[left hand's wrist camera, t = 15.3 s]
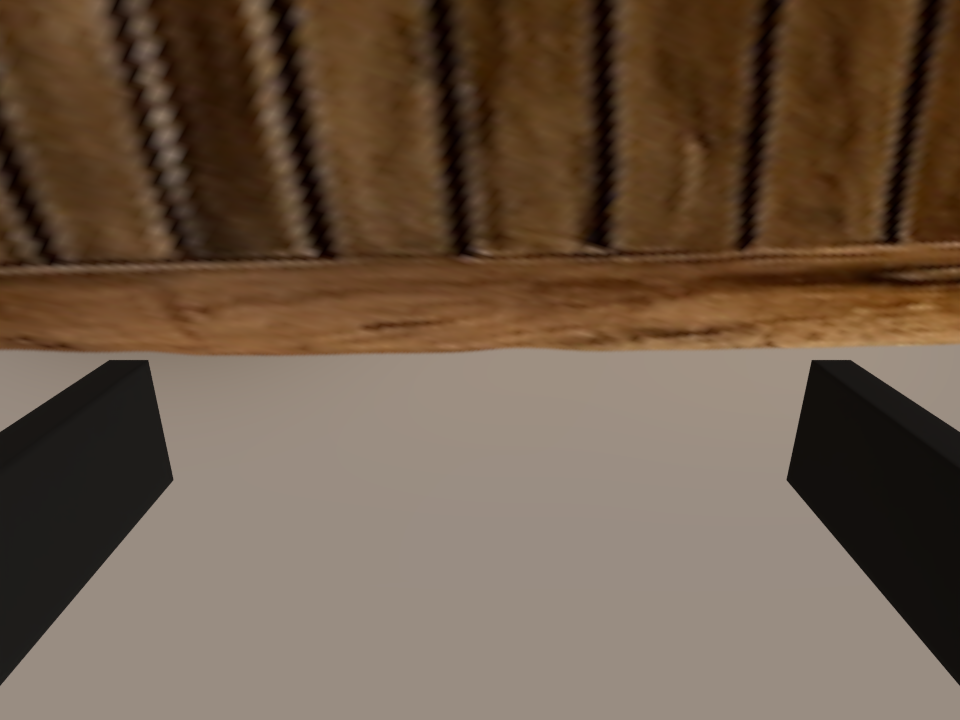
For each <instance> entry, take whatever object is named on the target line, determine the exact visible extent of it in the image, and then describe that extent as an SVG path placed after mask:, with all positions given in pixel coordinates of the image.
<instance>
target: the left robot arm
mask: <svg viewBox="0 0 960 720" xmlns="http://www.w3.org/2000/svg"><path fill="white" fill-rule="evenodd" d="M172 481H173V476H172V471H171V466H170V461H169V457H168V452H167V447H166V442H165V438H164V433H163V428H162V424H161V419H160V414H159V409H158V404H157V400H156V395H155V390H154V386H153V381H152V376H151V371H150V367H149V362H148V360H109V361H107V362H106V363H104V364H103V365H101V366H100V367H98V368H97V369H95V370H94V371H92V372H91V373H89V374H88V375H86V376H85V377H83V378H82V379H80V380H79V381H77V382H76V383H74V384H72V385H71V386H70V387H68V388H66V389H65V390H63V391H62V392H60V393H59V394H57V395H56V396H54V397H53V398H51V399H50V400H48V401H47V402H45V403H44V404H42V405H41V406H39V407H38V408H36V409H35V410H33V411H32V412H30V413H29V414H27V415H25V416H24V417H22V418H21V419H19V420H18V421H16V422H15V423H13V424H12V425H10V426H9V427H7V428H6V429H4V430H3V431H1V432H0V685H1V684H2V683H3V682H4V681H5V679H6V678H7V677H8V676H9V675H10V673H11V672H12V671H13V670H14V669H15V667H16V666H17V665H18V664H19V663H20V662H21V660H22V659H23V658H24V657H25V656H26V654H27V653H28V652H29V651H30V650H31V649H32V647H33V646H34V645H35V644H36V643H37V641H38V640H39V639H40V638H41V637H42V635H43V634H44V633H45V632H46V631H47V629H48V628H49V627H50V626H51V625H52V624H53V622H54V621H55V620H56V619H57V618H58V616H59V615H60V614H61V613H62V612H63V610H64V609H65V608H66V607H67V606H68V605H69V603H70V602H71V601H72V600H73V599H74V597H75V596H76V595H77V594H78V593H79V591H80V590H81V589H82V588H83V587H84V586H85V584H86V583H87V582H88V581H89V580H90V578H91V577H92V576H93V575H94V574H95V573H96V571H97V570H98V569H99V568H100V567H101V565H102V564H103V563H104V562H105V561H106V559H107V558H108V557H109V556H110V555H111V554H112V552H113V551H114V550H115V549H116V548H117V546H118V545H119V544H120V543H121V542H122V540H123V539H124V538H125V537H126V536H127V534H128V533H129V532H130V531H131V530H132V529H133V527H134V526H135V525H136V524H137V523H138V521H139V520H140V519H141V518H142V517H143V515H144V514H145V513H146V512H147V511H148V509H149V508H150V507H151V506H152V505H153V504H154V502H155V501H156V500H157V499H158V498H159V497H160V495H161V494H162V493H163V492H164V491H165V489H166V488H167V487H168V486H169V485H170V483H171V482H172ZM787 481H788V482H789V483H790V485H791V486H792V487H793V488H794V489H795V490H796V492H797V493H798V494H799V495H800V497H801V498H802V499H803V500H804V501H805V502H806V504H807V505H808V506H809V507H810V508H811V510H812V511H813V512H814V513H815V514H816V516H817V517H818V518H819V519H820V520H821V521H822V523H823V524H824V525H825V526H826V527H827V529H828V530H829V531H830V532H831V533H832V535H833V536H834V537H835V538H836V539H837V540H838V542H839V543H840V544H841V545H842V546H843V548H844V549H845V550H846V551H847V552H848V554H849V555H850V556H851V557H852V558H853V559H854V561H855V562H856V563H857V564H858V565H859V567H860V568H861V569H862V570H863V571H864V573H865V574H866V575H867V576H868V577H869V578H870V580H871V581H872V582H873V583H874V584H875V586H876V587H877V588H878V589H879V590H880V591H881V593H882V594H883V595H884V596H885V597H886V599H887V600H888V601H889V602H890V603H891V605H892V606H893V607H894V608H895V609H896V611H897V612H898V613H899V614H900V615H901V616H902V618H903V619H904V620H905V621H906V622H907V624H908V625H909V626H910V627H911V628H912V630H913V631H914V632H915V633H916V634H917V635H918V637H919V638H920V639H921V640H922V641H923V643H924V644H925V645H926V646H927V647H928V649H929V650H930V651H931V652H932V653H933V654H934V656H935V657H936V658H937V659H938V660H939V662H940V663H941V664H942V665H943V666H944V667H945V669H946V670H947V671H948V672H949V673H950V675H951V676H952V677H953V678H954V679H955V681H956V682H957V683H958V684H959V685H960V432H959V431H957V430H956V429H954V428H953V427H951V426H950V425H948V424H947V423H945V422H944V421H942V420H941V419H939V418H938V417H936V416H935V415H933V414H931V413H930V412H928V411H927V410H925V409H924V408H922V407H921V406H919V405H918V404H916V403H915V402H913V401H912V400H910V399H909V398H907V397H906V396H904V395H903V394H901V393H900V392H898V391H897V390H895V389H894V388H892V387H891V386H889V385H888V384H886V383H884V382H883V381H881V380H880V379H878V378H877V377H875V376H874V375H872V374H871V373H869V372H868V371H866V370H865V369H863V368H862V367H860V366H859V365H857V364H856V363H854V362H853V361H851V360H812V362H811V367H810V371H809V376H808V381H807V386H806V390H805V395H804V400H803V405H802V409H801V414H800V419H799V423H798V428H797V433H796V438H795V442H794V447H793V452H792V457H791V462H790V466H789V471H788V476H787Z"/></svg>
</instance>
